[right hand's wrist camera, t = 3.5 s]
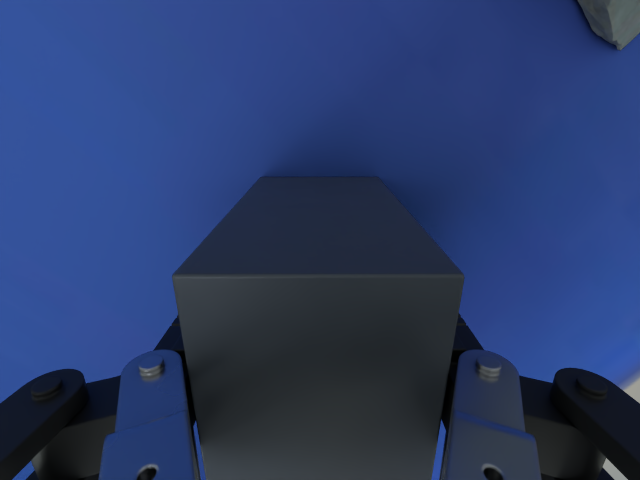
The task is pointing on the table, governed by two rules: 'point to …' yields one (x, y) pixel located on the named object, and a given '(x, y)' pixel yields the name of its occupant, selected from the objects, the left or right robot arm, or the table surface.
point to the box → (318, 334)
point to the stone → (613, 19)
